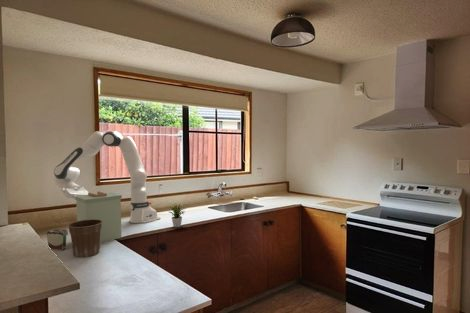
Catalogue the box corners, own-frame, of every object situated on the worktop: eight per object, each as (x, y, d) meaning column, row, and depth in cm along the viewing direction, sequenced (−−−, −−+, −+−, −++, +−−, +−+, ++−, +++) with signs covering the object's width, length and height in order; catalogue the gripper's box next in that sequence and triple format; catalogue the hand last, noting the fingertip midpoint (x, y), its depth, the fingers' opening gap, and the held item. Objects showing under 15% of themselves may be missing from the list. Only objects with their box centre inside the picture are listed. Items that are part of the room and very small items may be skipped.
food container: (73, 247, 171) (73, 229, 170) (64, 250, 165) (64, 232, 164) (55, 245, 174) (55, 227, 174) (46, 249, 168) (45, 230, 168)
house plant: (182, 229, 203) (182, 205, 203) (163, 229, 206) (162, 204, 205) (190, 224, 217) (189, 201, 217) (171, 223, 220) (171, 201, 219)
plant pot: (61, 258, 153) (60, 226, 152) (81, 248, 169) (80, 218, 168) (91, 260, 151) (90, 227, 150) (109, 249, 167) (108, 219, 166)
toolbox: (111, 232, 199) (110, 190, 198) (122, 237, 187) (121, 192, 186) (76, 239, 185) (75, 193, 184) (86, 245, 173) (84, 197, 172)
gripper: (62, 184, 211) (75, 195, 207) (84, 186, 230) (96, 196, 226) (57, 192, 211) (70, 203, 207) (80, 193, 231) (92, 204, 226)
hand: (84, 200), depth 217 cm, fingers open, 8 cm apart
